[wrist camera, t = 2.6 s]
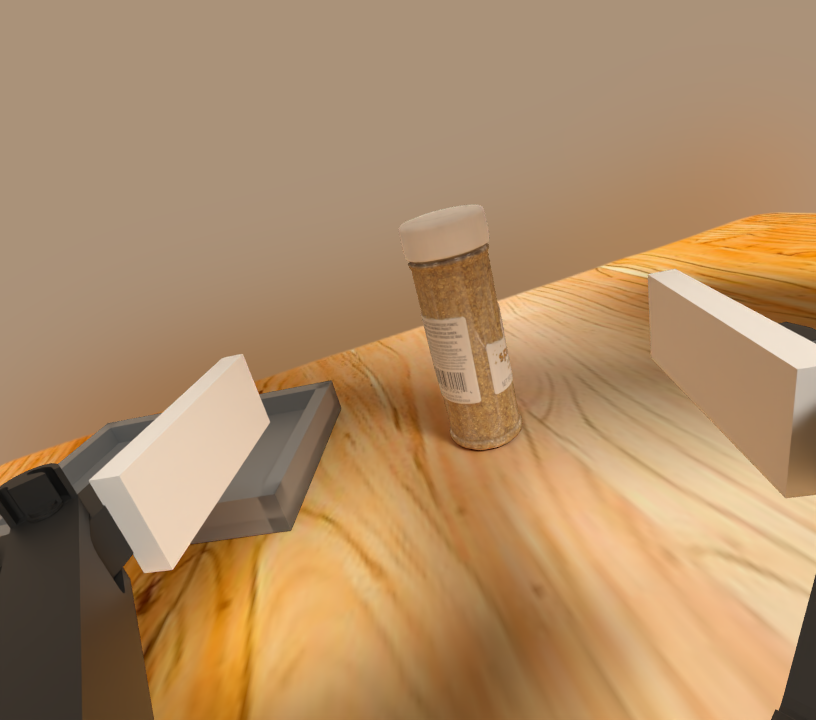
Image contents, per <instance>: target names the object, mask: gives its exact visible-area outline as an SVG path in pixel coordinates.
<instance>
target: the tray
mask: <svg viewBox="0 0 816 720" xmlns="http://www.w3.org/2000/svg"><path fill="white" fill-rule="evenodd" d="M259 396H260V398H261V401H262V403H263V406H264V408H265V411H266V413H267V416H268V418H269V421H270V423H269V425H268V426H267V428H266V429H265V431H264V432H263V434H262V435H261V437H260V438H259V440H258V441H257V443H256V444H255V446H254V447H253V449H252V450H251V452H250V453H249V455H248V457H247V458H246V460H245V461H244V463H243V464H242V466H241V467H240V469H239V470H238V472H237V473H236V475H235V476H234V478H233V479H232V481H231V482H230V484H229V485H228V487H227V488H226V490H225V491H224V493H223V494H222V496H221V497H220V499H219V500H218V502H217V504H216V505H215V507H214V508H213V510H212V511H211V513H210V514H209V516H208V517H207V519H206V520H205V522H204V523H203V525H202V526H201V528H200V529H199V531H198V532H197V534H196V535H195V537H194V538H193V540H192V541H191V543H190V544H195V543H203V542H210V541H217V540H224V539H232V538H239V537H246V536H254V535H261V534H268V533H276V532H283V531H290V530H291V529H292V527H293V524H294V522H295V520H296V517H297V515H298V512H299V510H300V507H301V505H302V503H303V500H304V498H305V495H306V493H307V490H308V488H309V485H310V483H311V481H312V478H313V476H314V473H315V471H316V468H317V466H318V463H319V461H320V459H321V456H322V454H323V451H324V449H325V446H326V444H327V442H328V439H329V437H330V434H331V432H332V429H333V427H334V424H335V422H336V420H337V417H338V415H339V412H340V410H341V406H340V403H339V400H338V397H337V395H336V392H335V389H334V386H333V383H332V380H331V381H326V382H321V383H315V384H310V385H305V386H300V387H295V388H289V389H284V390H279V391H274V392H269V393H263V394H259ZM161 414H162V413H159V414H154V415H149V416H144V417H139V418H133V419H128V420H124V421H118V422H112V423H108V424H107V425H105V426H104V427H103V428H102V429H100V430H99V431H98V432H97V433H95V434H94V435H93V436H92V437H90V438H89V439H88V440H87V441H86V442H84V443H83V444H82V445H81V446H79V447H78V448H77V449H76V450H75V451H73V452H72V453H71V454H70V455H68V456H67V457H66V458H65V459H64V460H62V461H61V462H60V463H59V464H58V465H59V466H60V467H61V469H62V471H63V472H64V474H65V475H66V477H67V479H68V480H69V482H70V483H71V485H72V487H73V488H74V490H75V491H76V493H77V494H78V493H79V492H80V491H81V490H82V489H84V488H85V487H86V486H87V485H88V484H89V483H90V482H89V480H90V479H91V478H92V477H93V476H94V475H95V474H96V473H97V472H98V471H100V470H101V469H102V468H103V467H104V466H105V465H106V464H107V463H108V462H109V461H110V460H112V459H113V458H114V457H115V456H116V455H117V454H118V453H119V452H120V451H121V450H122V449H124V448H125V447H126V446H127V445H128V444H129V443H130V442H131V441H132V440H133V439H134V438H136V437H137V436H138V435H139V434H140V433H141V432H142V431H143V430H144V429H145V428H146V427H148V426H149V425H150V424H151V423H152V422H153V421H154V420H155V419H156V418H157V417H158V416H160V415H161ZM9 532H10V527H9V526H8V524H7V523H6V522H5V520H4V519H3V517H2V516H1V515H0V537H1V536H4V535H7V534H9Z"/></svg>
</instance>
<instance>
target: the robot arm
mask: <svg viewBox="0 0 816 720" xmlns="http://www.w3.org/2000/svg"><path fill="white" fill-rule="evenodd" d="M648 293H649V320H650V346H651V359H652V360H653V361H654V362H655V363H656V364H657V365H658V366H659V367H660V368H661V369H662V370H663V371H664V372H665V373H666V374H667V375H668V376H669V377H670V378H671V379H672V381H673V382H674V383H675V384H676V385H677V386H678V387H679V388H680V389H681V390H682V391H683V392H684V393H685V394H686V395H687V396H688V397H689V398H690V399H691V400H692V401H693V402H694V403H695V404H696V406H697V407H698V408H699V409H700V410H701V411H702V412H703V413H704V414H705V415H706V416H707V417H708V418H709V419H710V420H711V421H712V422H713V423H714V424H715V425H716V426H717V427H718V428H719V429H720V431H721V432H722V433H723V434H724V435H725V436H726V437H727V438H728V439H729V440H730V441H731V442H732V443H733V444H734V445H735V446H736V447H737V448H738V449H739V450H740V451H741V452H742V453H743V454H744V456H745V457H746V458H747V459H748V460H749V461H750V462H751V463H752V464H753V465H754V466H755V467H756V468H757V469H758V470H759V471H760V472H761V473H762V474H763V475H764V476H765V477H766V478H767V479H768V481H769V482H770V483H771V484H772V485H773V486H774V487H775V488H776V489H777V490H778V491H779V492H780V493H781V494H782V495H783V496H784V497H785V498H791V497H800V496H808V495H816V330H815V329H813V328H810V327H806V326H801V325H797V324H793V323H789V322H783V323H776V322H774V321H772V320H770V319H768V318H767V317H765V316H763V315H761V314H759V313H757V312H755V311H753V310H752V309H750V308H748V307H746V306H744V305H742V304H740V303H738V302H737V301H735V300H733V299H731V298H729V297H727V296H725V295H723V294H721V293H720V292H718V291H716V290H714V289H712V288H710V287H708V286H706V285H705V284H703V283H701V282H699V281H697V280H695V279H693V278H691V277H690V276H688V275H686V274H684V273H682V272H680V271H678V270H676V269H672V270H667V271H662V272H657V273H652V274H648ZM269 423H270V421H269V418H268V416H267V413H266V411H265V408H264V406H263V403H262V401H261V398H260V396H259V393H258V391H257V388H256V386H255V383H254V381H253V378H252V376H251V373H250V371H249V368H248V366H247V363H246V361H245V358H244V356H243V354H240V355H235V356H229V357H225V358H222V359H221V360H220V361H218V362H217V363H216V364H215V365H214V366H213V367H212V368H211V369H210V370H209V371H208V372H206V373H205V374H204V375H203V376H202V377H201V378H200V379H199V380H198V381H197V382H196V383H194V385H192V386H191V387H190V388H189V389H188V390H187V391H186V392H185V393H184V394H182V395H181V396H180V397H179V398H178V399H177V400H176V401H175V402H174V403H173V404H172V405H171V406H169V407H168V408H167V409H166V410H165V411H164V412H163V413H162V414H161V415H160V416H158V417H157V418H156V419H155V420H154V421H153V422H152V423H151V424H150V425H149V426H148V427H146V428H145V429H144V430H143V431H142V432H141V433H140V434H139V435H138V436H137V437H136V438H134V439H133V440H132V441H131V442H130V443H129V444H128V445H127V446H126V447H125V448H124V449H122V450H121V451H120V452H119V453H118V454H117V455H116V456H115V457H114V458H113V459H112V460H110V461H109V462H108V463H107V464H106V465H105V466H104V467H103V468H102V469H101V470H100V471H98V472H97V473H96V474H95V475H94V476H93V477H92V478H91V479H90V480H89V482H90V483H89V484H88V485H87V486H86V487H85V488H84V489H82V490H81V491H80V492H79V493H78V494H77V493H76V491H75V490H74V488H73V487H72V485H71V483H70V482H69V480H68V479H67V477H66V475H65V474H64V472H63V471H62V469H61V467H60V466H59V465H58V464H53V463H51V464H46V465H42V466H39V467H36V468H33V469H31V470H28V471H26V472H24V473H22V474H20V475H18V476H16V477H14V478H12V479H11V480H9V481H8V482H6V483H4V484H3V485H1V486H0V515H1V516H2V517H3V519H4V520H5V522H6V523H7V524H8V526H9V527H10V532H9V534H7V535H4V536H1V537H0V720H154V717H153V711H152V705H151V699H150V693H149V687H148V681H147V675H146V670H145V664H144V658H143V652H142V646H141V640H140V634H139V628H138V622H137V616H136V610H135V604H134V598H133V592H132V586H131V580H130V578H129V576H128V575H127V573H126V572H125V570H124V568H123V566H124V565H125V564H126V562H127V561H128V560H129V558H130V557H131V556H132V555H134V557H135V559H136V560H137V562H138V564H139V565H140V567H141V568H142V570H143V572H144V573H150V572H158V571H167V570H173V569H174V567H175V566H176V564H177V563H178V561H179V560H180V558H181V557H182V555H183V554H184V552H185V551H186V549H187V547H188V546H189V544H190V543H191V541H192V540H193V538H194V537H195V535H196V534H197V532H198V531H199V529H200V528H201V526H202V525H203V523H204V522H205V520H206V519H207V517H208V516H209V514H210V513H211V511H212V510H213V508H214V507H215V505H216V504H217V502H218V500H219V499H220V497H221V496H222V494H223V493H224V491H225V490H226V488H227V487H228V485H229V484H230V482H231V481H232V479H233V478H234V476H235V475H236V473H237V472H238V470H239V469H240V467H241V466H242V464H243V463H244V461H245V460H246V458H247V457H248V455H249V453H250V452H251V450H252V449H253V447H254V446H255V444H256V443H257V441H258V440H259V438H260V437H261V435H262V434H263V432H264V431H265V429H266V428H267V426H268V425H269ZM771 720H816V575H815V579H814V583H813V587H812V591H811V594H810V598H809V602H808V606H807V609H806V613H805V617H804V621H803V624H802V628H801V632H800V636H799V639H798V643H797V647H796V651H795V655H794V658H793V662H792V666H791V670H790V673H789V677H788V681H787V685H786V688H785V692H784V696H783V699H782V703H781V706H780V708H779V711H778V710H775V712H774V714H773V716H772V719H771Z"/></svg>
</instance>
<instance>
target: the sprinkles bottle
mask: <svg viewBox="0 0 816 720" xmlns="http://www.w3.org/2000/svg"><path fill="white" fill-rule="evenodd" d="M399 235H400V240H401V245H402V249H403V253H404V257H405V259H406V261H409V262H410V263H408V266H409V268H410V269H411V271H412V275H413V279H414V283H415V287H416V291H417V294H418V300H419V304H420V308H421V316H422V320H423V324H424V328H425V332H426V336H427V340H428V344H429V348H430V352H431V356H432V360H433V364H434V368H435V371H436V375H437V379H438V383H439V387H440V390H441V393H442V395H443V397H444V401H445V405H446V409H447V413H448V416H449V420H450V434H451V437H452V439H453V440H454V441H455V442H456V443H457V444H459V445H461V446H463V447H465V448H470V449H476V450H486V449H491V448H495V447H500V446H501V445H503V444H506V443H508V442H509V441H511V440H512V439H513V438H514V437H516V436H517V435H518V433H519V432H520V430H521V427H522V417H521V415H520V414H519V412H518V407H517V402H516V397H515V391H514V386H513V381H512V379H513V375H512V370H511V365H510V360H509V355H508V350H507V346H506V340H505V335H504V329H503V324H502V319H501V313H500V308H499V304H498V302H497V298H496V292H495V288H494V281H493V275H492V271H491V266H490V260H489V257H488V255H489V254H488V249H489V244H487V242H488V240H489V238H490V237H489V231H488V225H487V221H486V216H485V211H484V209H483V207H482V206H480V205H475V204H473V205H464V206H456V207H451V208H446V209H441V210H437V211H434V212H430V213H427V214H424V215H421V216H418V217H416V218H413V219H411V220H408V221H406V222H404V223H403V224H402V225H401V226H400V227H399Z"/></svg>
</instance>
